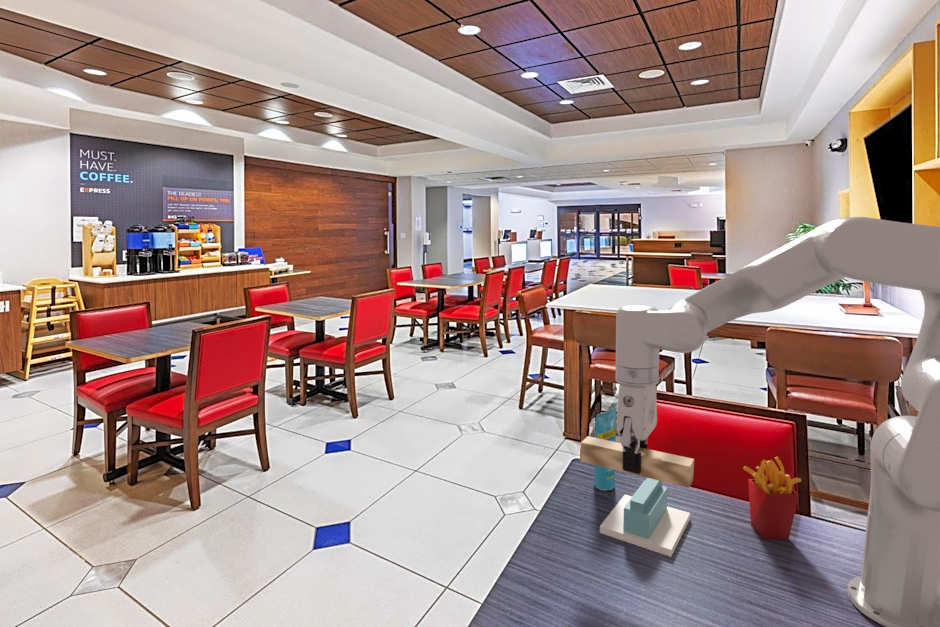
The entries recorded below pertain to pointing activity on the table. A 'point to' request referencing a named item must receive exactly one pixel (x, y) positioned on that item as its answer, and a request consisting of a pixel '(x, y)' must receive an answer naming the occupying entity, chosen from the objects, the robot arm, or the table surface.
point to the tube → (607, 431)
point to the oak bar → (651, 461)
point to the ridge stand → (647, 519)
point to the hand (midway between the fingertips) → (635, 466)
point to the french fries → (772, 500)
